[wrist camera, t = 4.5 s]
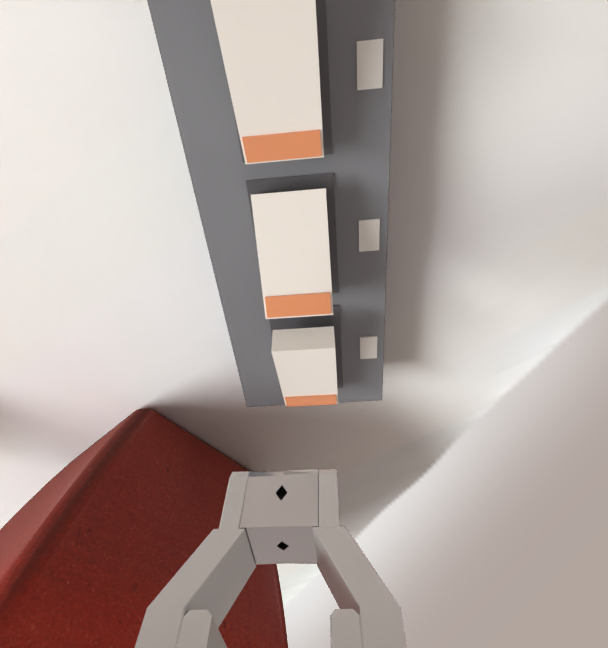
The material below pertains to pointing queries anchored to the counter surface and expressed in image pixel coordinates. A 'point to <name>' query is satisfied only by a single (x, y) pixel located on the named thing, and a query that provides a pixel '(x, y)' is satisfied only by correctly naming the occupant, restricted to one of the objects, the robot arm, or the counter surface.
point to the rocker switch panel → (293, 184)
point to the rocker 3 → (306, 365)
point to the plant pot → (123, 543)
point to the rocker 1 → (272, 76)
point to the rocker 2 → (293, 253)
